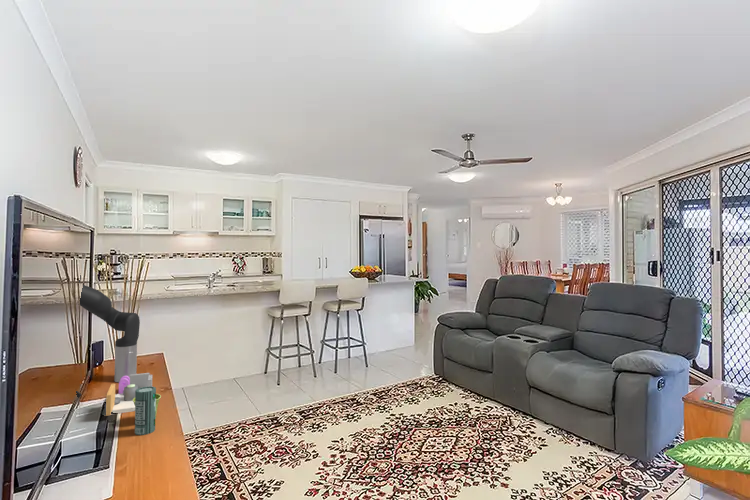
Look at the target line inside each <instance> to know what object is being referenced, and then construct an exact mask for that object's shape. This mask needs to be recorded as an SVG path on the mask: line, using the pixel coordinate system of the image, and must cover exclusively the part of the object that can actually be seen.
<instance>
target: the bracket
mask: <svg viewBox="0 0 750 500" xmlns="http://www.w3.org/2000/svg"><path fill="white" fill-rule="evenodd" d="M127 385H130V378H129V377H128V376H123V377H122V378H121V379H120V382H118V394H122V393H123V390H124V387H126V386H127Z"/></svg>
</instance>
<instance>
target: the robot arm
mask: <svg viewBox="0 0 750 500" xmlns="http://www.w3.org/2000/svg"><path fill="white" fill-rule="evenodd" d="M81 279H82V275H80V280H79V283H80V284H81V281H82V280H81ZM79 306H80V307H82V308H83V309H85V310H86V311H88V312H89V313H91V314H92V315H94V316H96V317H98V318H99V319H101V320H102V321H104V322H105V324H107V325H108V326H109V327H110V328H112V329H113V330H115V331H117V332H124V333H123V337H121V338H117V339H116V340H115V343H114V355H115V356H114V380H113V382H115V383H119V382H120V379H121V378H122V377H123V376H128V377H129V378H130V375H132V374H137V365H138V364H137V363H138V360H137V359H138V357H137V355H138V339H139V336H140V324H141V323H140V322H141V319H140V316H139V314H138V313H136V312H128V311H127V312H125V311H120V310H117V309H116V308H115V307H113V304H112V301H111V299H110V298H109V297H108V296H107V295H105V294H104V293H103V292H102V291H101V290H98V289H96V288H93V287H90V286H88V285H85V284H83V288H82V292H81V298H80V305H79ZM76 393H77V394H76V395H77V397H78V399H80V397H81V396H82V393H81V392H80V391H78V390H77V391H76Z"/></svg>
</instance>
